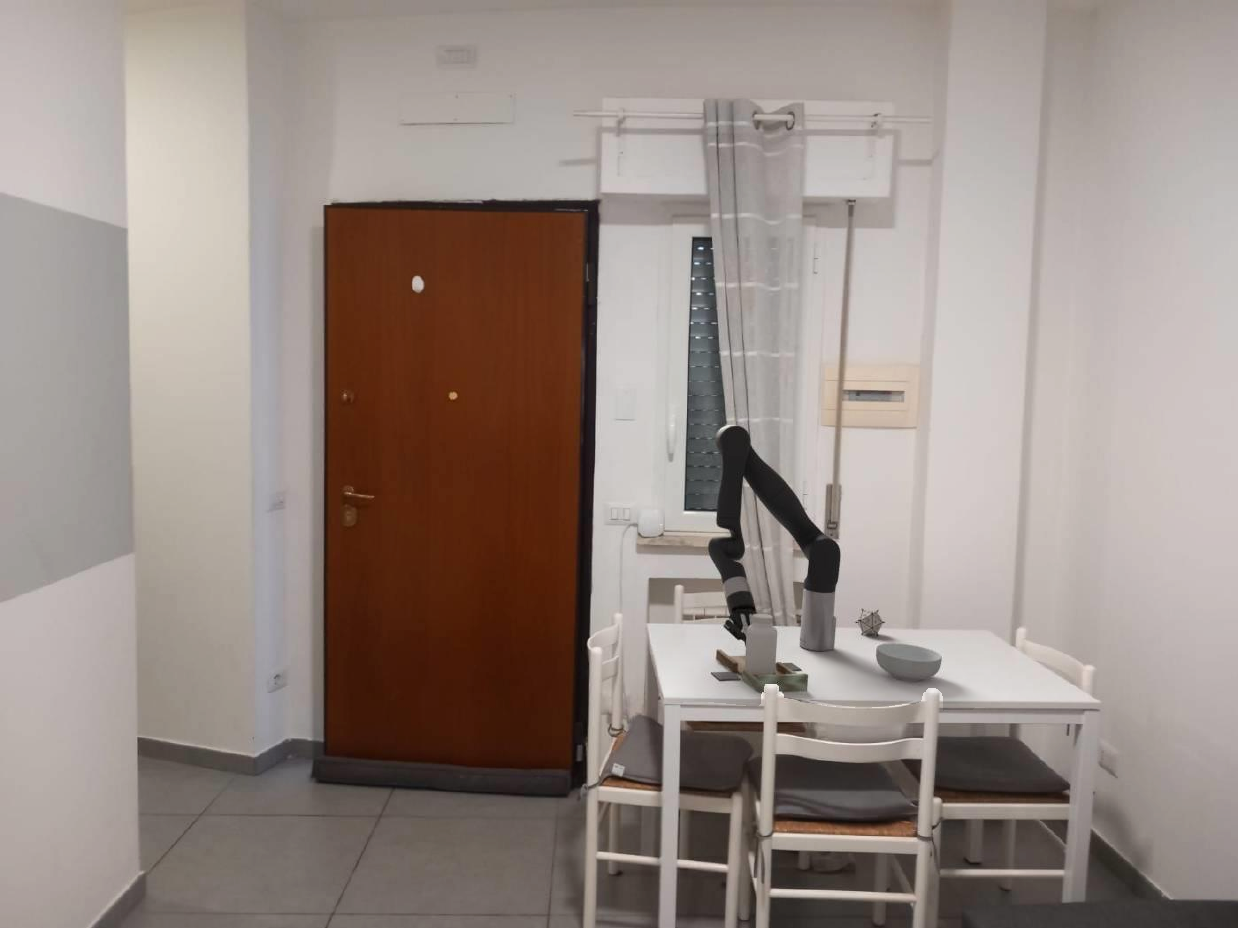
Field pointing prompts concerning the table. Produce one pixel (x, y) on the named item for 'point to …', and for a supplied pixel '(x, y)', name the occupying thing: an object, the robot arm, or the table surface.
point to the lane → (781, 677)
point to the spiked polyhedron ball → (870, 622)
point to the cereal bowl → (908, 661)
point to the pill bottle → (761, 645)
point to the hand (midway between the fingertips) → (753, 652)
